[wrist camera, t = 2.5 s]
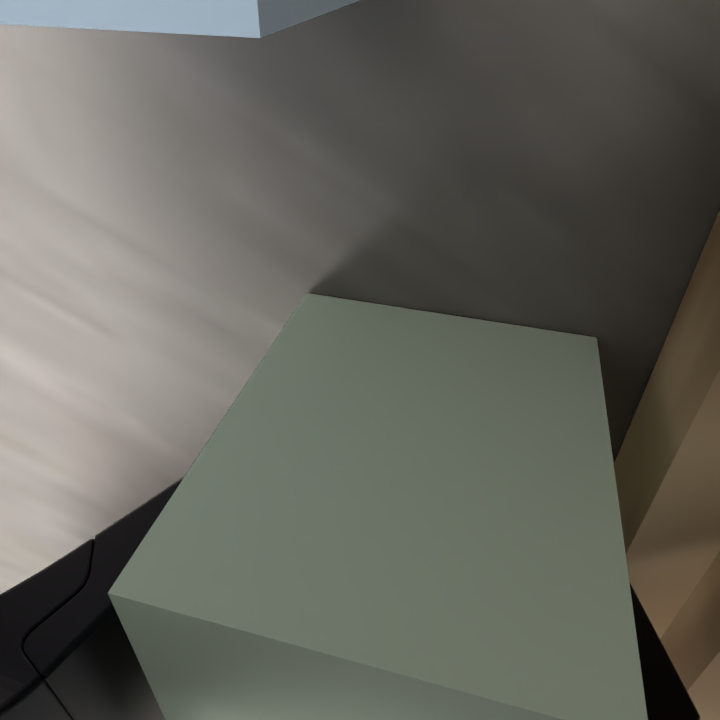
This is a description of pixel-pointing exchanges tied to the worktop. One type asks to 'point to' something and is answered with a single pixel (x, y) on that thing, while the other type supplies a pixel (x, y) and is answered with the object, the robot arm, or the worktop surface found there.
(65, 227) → the worktop surface
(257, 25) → the pale blue block
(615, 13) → the worktop surface
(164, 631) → the sage block
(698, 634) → the base slab
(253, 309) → the worktop surface
